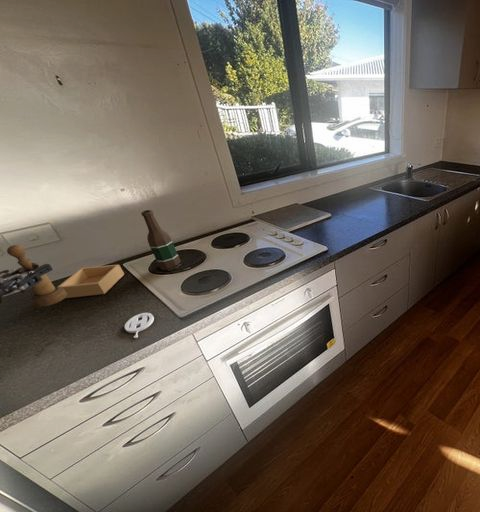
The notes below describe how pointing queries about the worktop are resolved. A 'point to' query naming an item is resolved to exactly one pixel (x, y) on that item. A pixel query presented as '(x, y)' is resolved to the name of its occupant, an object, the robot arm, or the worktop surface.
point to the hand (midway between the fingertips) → (42, 266)
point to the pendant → (139, 323)
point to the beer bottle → (160, 243)
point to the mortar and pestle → (44, 289)
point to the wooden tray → (92, 280)
